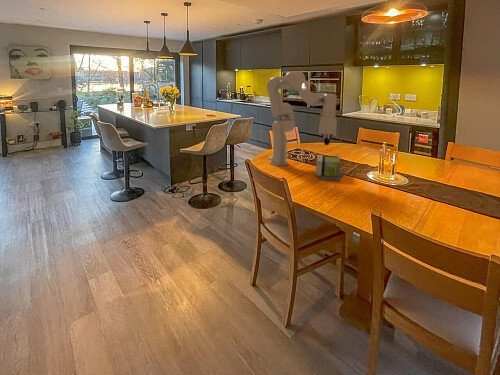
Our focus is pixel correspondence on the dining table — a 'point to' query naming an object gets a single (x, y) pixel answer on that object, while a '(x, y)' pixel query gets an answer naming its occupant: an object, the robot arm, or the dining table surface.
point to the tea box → (328, 165)
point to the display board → (332, 177)
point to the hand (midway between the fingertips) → (326, 144)
